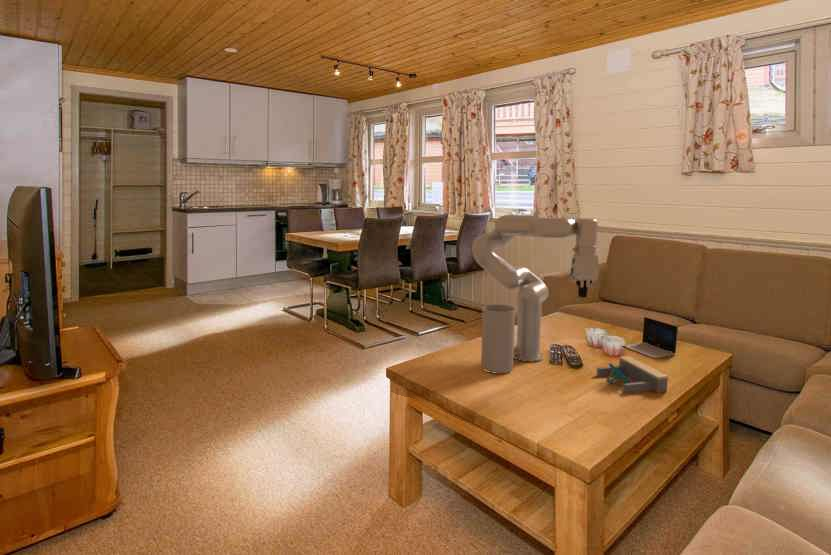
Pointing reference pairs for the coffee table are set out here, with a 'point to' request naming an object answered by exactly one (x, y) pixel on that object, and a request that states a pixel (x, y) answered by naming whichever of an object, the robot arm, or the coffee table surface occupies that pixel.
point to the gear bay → (638, 376)
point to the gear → (616, 374)
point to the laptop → (656, 339)
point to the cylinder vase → (498, 338)
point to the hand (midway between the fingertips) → (582, 296)
